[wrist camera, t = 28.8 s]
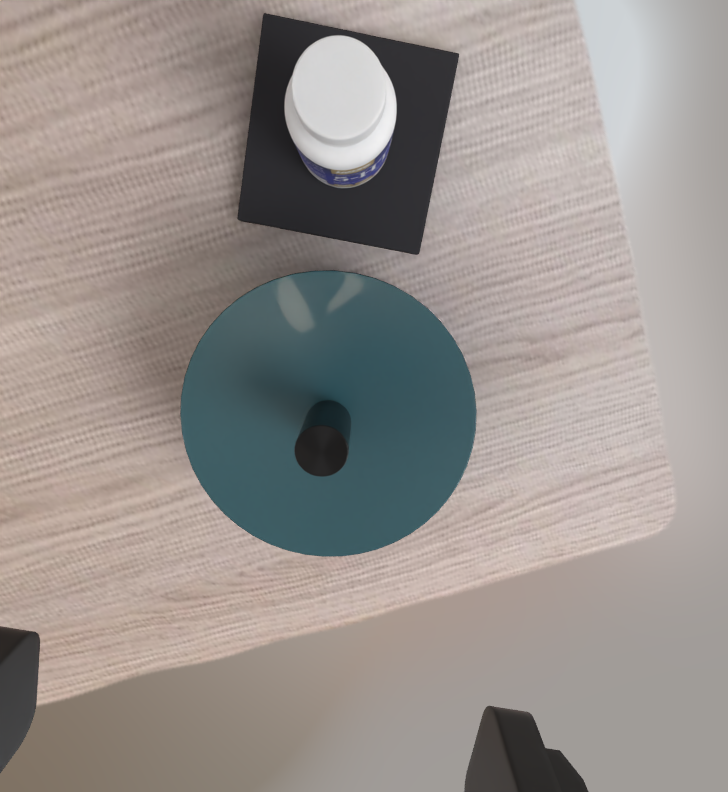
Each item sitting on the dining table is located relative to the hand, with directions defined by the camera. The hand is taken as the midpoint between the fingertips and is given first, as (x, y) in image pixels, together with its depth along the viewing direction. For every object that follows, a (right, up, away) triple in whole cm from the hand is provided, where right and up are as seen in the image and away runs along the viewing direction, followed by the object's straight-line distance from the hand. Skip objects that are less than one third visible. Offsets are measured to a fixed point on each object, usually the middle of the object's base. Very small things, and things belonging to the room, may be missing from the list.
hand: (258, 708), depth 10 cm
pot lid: (0, +4, +19) cm, 20 cm away
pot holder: (+1, +20, +22) cm, 30 cm away
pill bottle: (+1, +20, +22) cm, 30 cm away
